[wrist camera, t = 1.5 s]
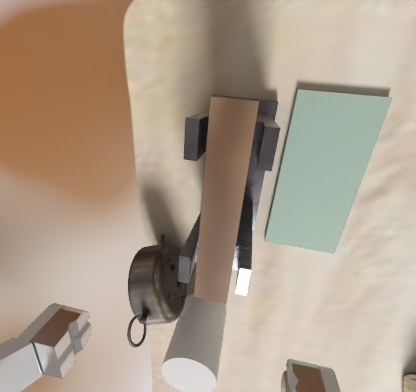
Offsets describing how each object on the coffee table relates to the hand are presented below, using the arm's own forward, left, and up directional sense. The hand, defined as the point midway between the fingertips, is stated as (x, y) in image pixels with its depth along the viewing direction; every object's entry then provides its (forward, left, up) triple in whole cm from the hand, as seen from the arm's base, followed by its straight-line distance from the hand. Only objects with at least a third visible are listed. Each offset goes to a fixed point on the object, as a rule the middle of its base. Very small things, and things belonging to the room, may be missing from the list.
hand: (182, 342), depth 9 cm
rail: (0, 0, -14) cm, 14 cm away
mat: (-11, 0, -26) cm, 28 cm away
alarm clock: (+8, +17, -26) cm, 32 cm away
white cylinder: (+2, +28, -26) cm, 38 cm away
